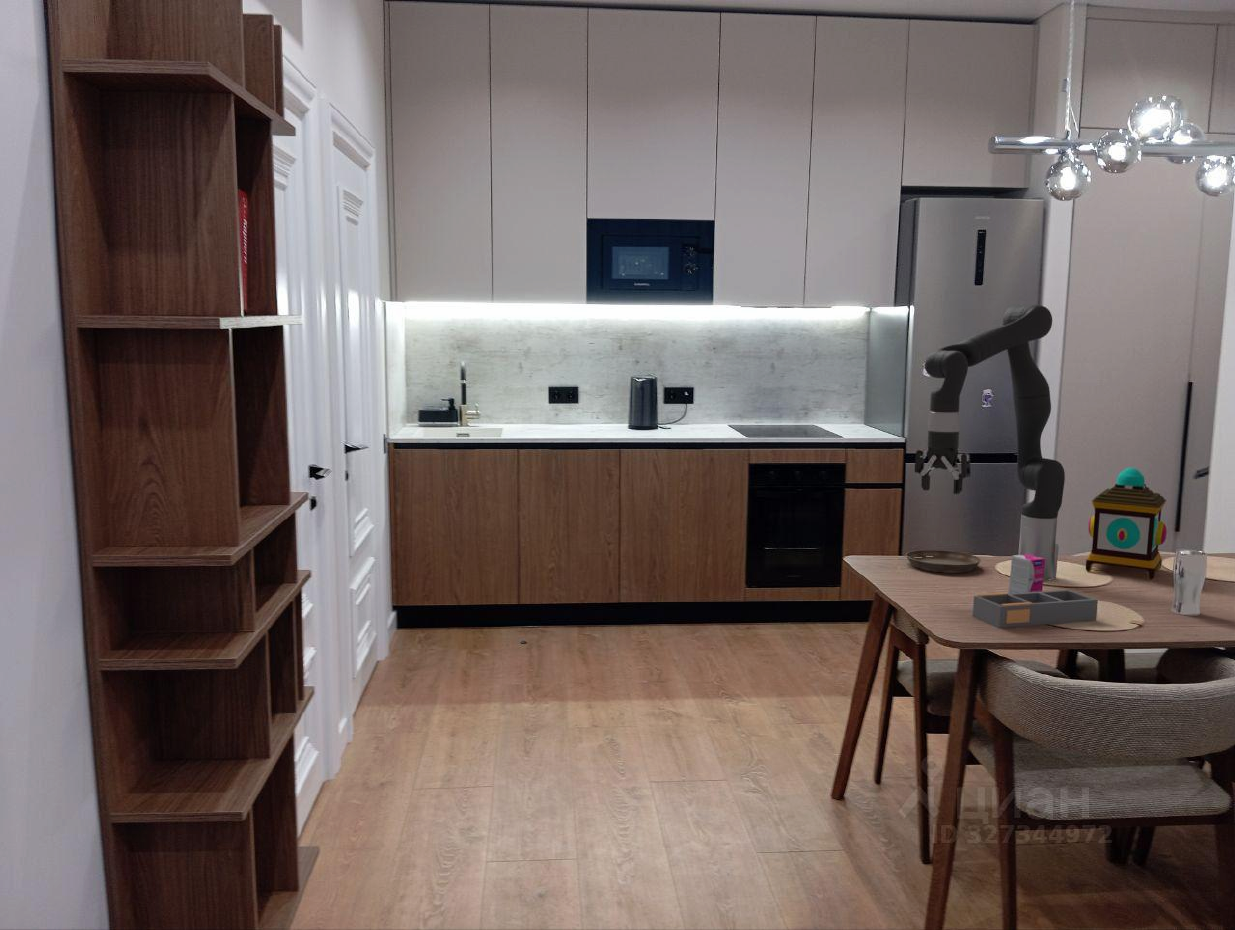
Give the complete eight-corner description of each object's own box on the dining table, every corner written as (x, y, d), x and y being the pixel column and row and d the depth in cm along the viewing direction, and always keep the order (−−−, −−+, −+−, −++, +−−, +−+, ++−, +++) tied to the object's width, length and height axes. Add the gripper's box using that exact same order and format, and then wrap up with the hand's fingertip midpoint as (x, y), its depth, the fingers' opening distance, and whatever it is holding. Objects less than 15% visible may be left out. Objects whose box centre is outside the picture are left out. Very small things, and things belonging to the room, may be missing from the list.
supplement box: (1026, 605, 243) (1029, 560, 241) (1007, 599, 248) (1010, 555, 246) (1042, 602, 245) (1045, 557, 244) (1023, 597, 251) (1026, 553, 249)
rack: (1067, 609, 239) (1068, 588, 239) (1097, 620, 230) (1098, 598, 229) (972, 616, 232) (974, 594, 231) (999, 628, 222) (1001, 605, 222)
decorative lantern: (1079, 572, 279) (1087, 467, 275) (1091, 560, 295) (1099, 461, 292) (1158, 583, 268) (1168, 474, 264) (1166, 569, 284) (1175, 467, 280)
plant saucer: (895, 559, 293) (895, 548, 293) (962, 559, 294) (963, 548, 294) (920, 576, 273) (921, 564, 272) (992, 576, 274) (993, 564, 273)
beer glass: (1201, 618, 234) (1207, 556, 232) (1168, 613, 237) (1174, 552, 235) (1202, 611, 239) (1208, 551, 238) (1170, 607, 243) (1175, 547, 241)
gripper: (977, 430, 247) (974, 493, 250) (925, 426, 258) (923, 487, 260) (962, 432, 242) (959, 497, 244) (910, 428, 253) (908, 490, 255)
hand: (941, 491), depth 252 cm, fingers open, 8 cm apart
